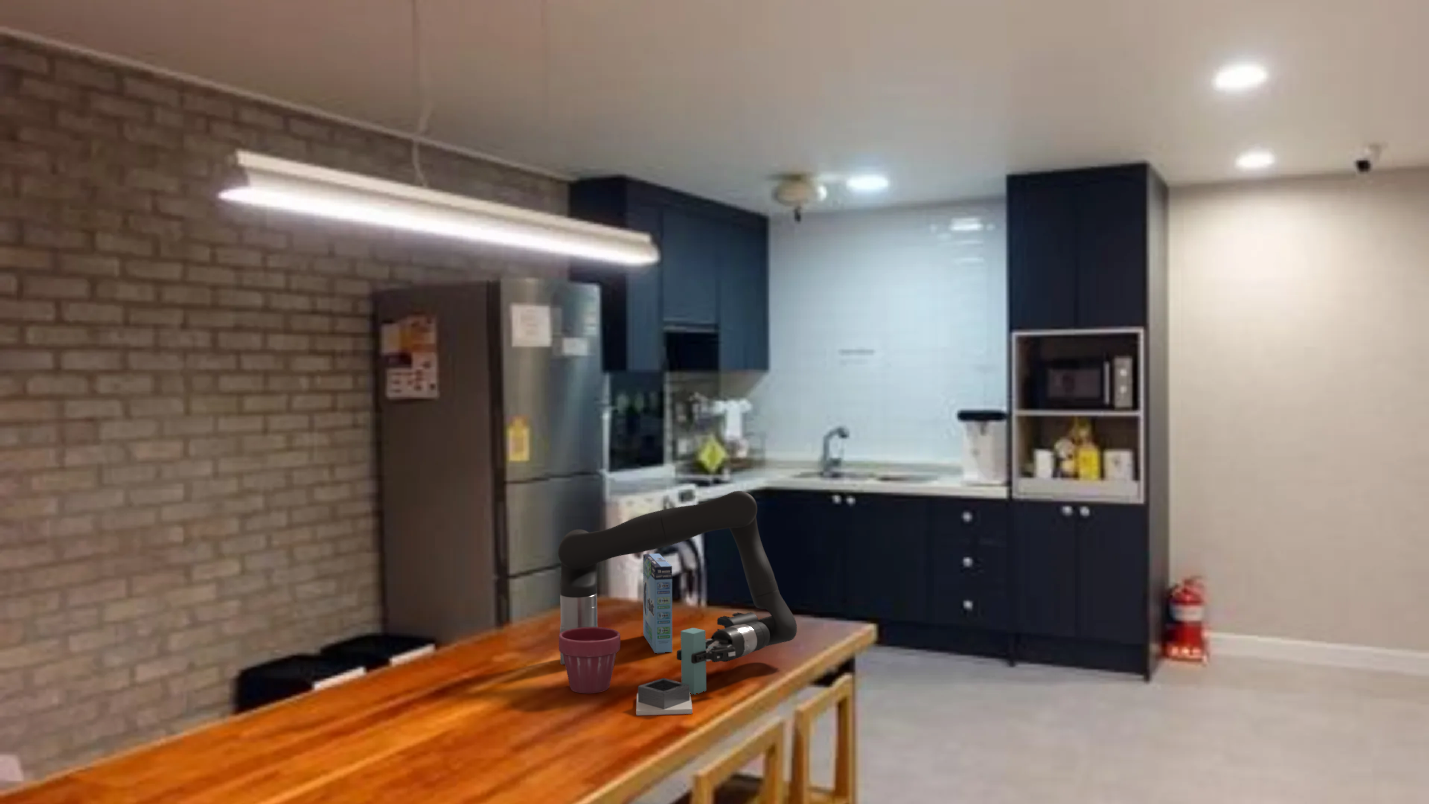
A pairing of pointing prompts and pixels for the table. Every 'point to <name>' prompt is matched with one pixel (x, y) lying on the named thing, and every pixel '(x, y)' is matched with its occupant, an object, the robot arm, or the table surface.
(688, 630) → the teal peg
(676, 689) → the metal collar
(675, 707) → the base board
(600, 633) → the plant pot
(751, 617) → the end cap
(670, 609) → the light blue cardboard box
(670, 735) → the table surface
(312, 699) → the table surface
